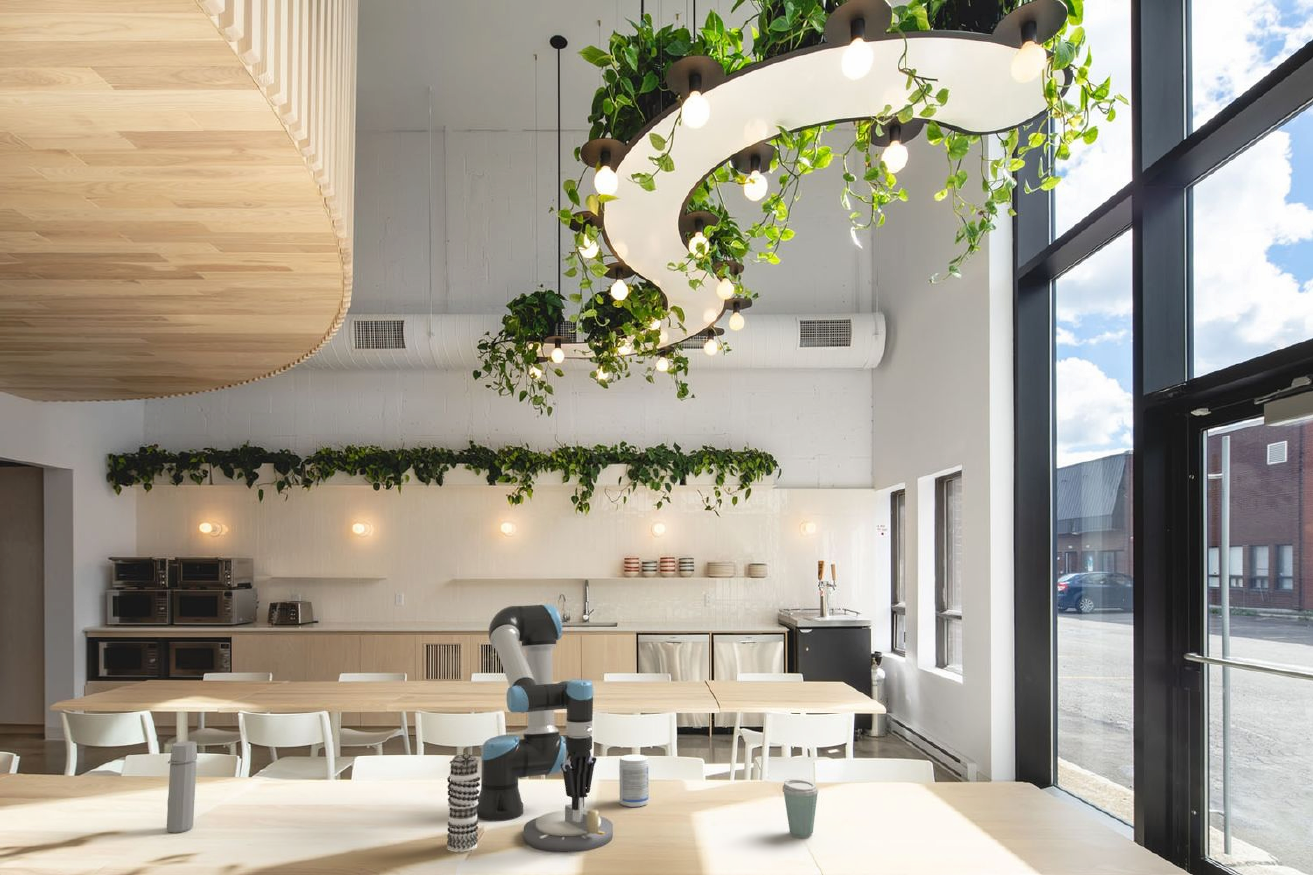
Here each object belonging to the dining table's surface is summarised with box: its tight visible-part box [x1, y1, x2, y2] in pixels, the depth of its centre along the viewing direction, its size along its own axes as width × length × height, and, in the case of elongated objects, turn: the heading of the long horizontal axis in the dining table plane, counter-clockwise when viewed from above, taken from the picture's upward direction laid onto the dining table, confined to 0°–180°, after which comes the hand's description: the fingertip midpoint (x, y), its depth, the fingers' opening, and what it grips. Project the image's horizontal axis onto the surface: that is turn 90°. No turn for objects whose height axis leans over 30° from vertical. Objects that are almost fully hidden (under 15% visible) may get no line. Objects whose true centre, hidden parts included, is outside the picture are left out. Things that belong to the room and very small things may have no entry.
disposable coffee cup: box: [782, 778, 819, 839], centre depth 271 cm, size 11×11×15 cm
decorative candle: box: [446, 753, 481, 853], centre depth 260 cm, size 9×9×25 cm
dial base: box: [522, 815, 614, 853], centre depth 268 cm, size 26×26×3 cm
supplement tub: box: [618, 754, 650, 808], centre depth 302 cm, size 10×10×15 cm
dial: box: [536, 803, 601, 836], centre depth 266 cm, size 24×19×7 cm
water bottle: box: [166, 740, 198, 834], centre depth 275 cm, size 9×8×25 cm
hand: (577, 820), depth 260 cm, fingers closed
